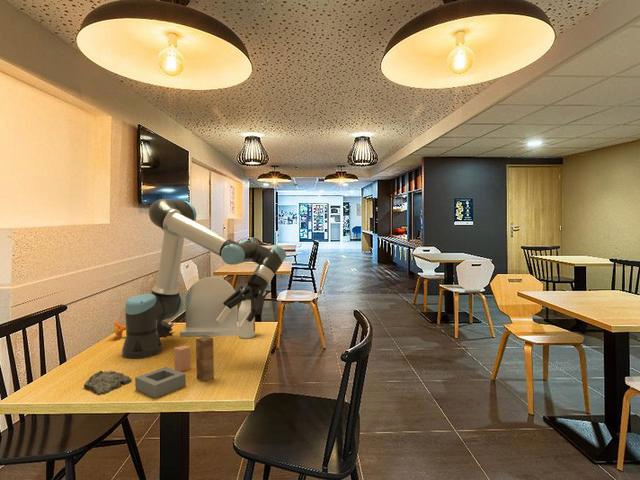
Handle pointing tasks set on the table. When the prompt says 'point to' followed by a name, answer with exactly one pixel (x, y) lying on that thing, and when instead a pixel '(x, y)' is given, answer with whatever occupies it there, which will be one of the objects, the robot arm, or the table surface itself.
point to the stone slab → (106, 381)
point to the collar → (160, 382)
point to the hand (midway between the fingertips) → (229, 325)
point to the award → (209, 309)
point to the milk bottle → (242, 313)
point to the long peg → (204, 358)
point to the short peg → (182, 358)
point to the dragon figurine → (162, 328)
